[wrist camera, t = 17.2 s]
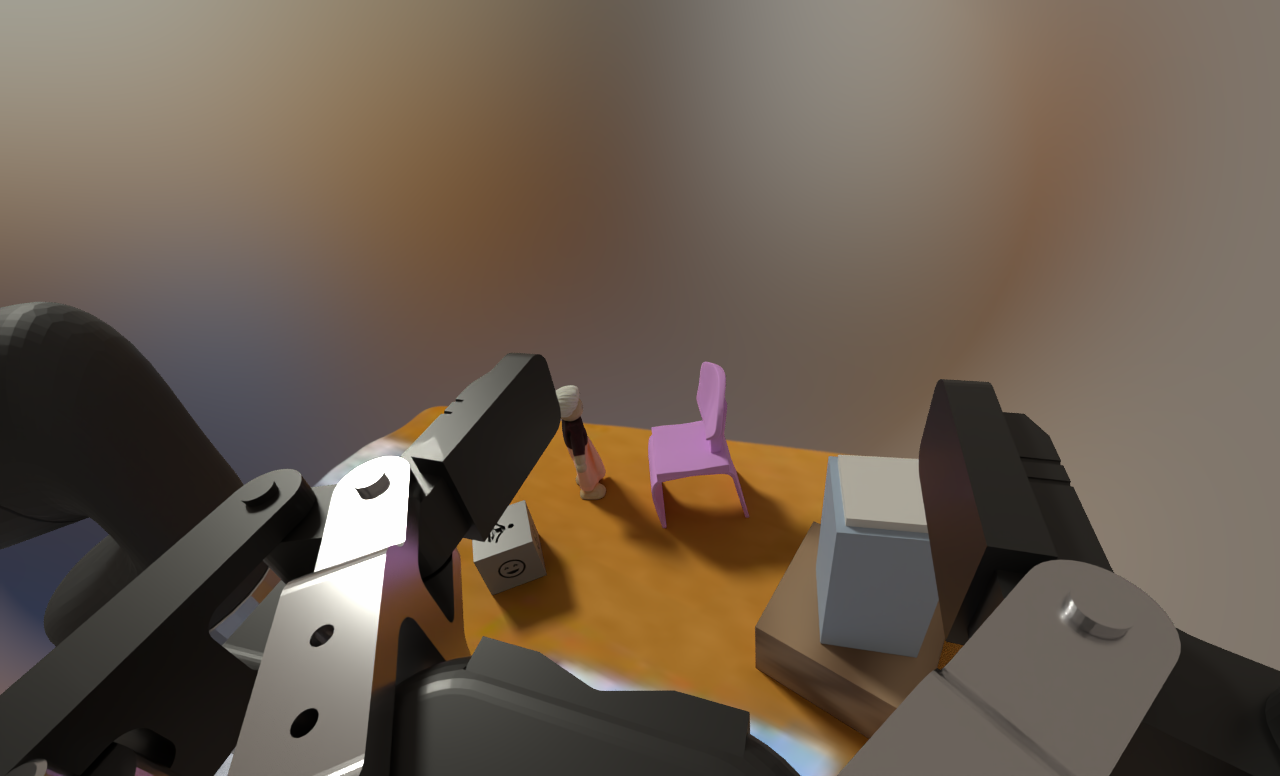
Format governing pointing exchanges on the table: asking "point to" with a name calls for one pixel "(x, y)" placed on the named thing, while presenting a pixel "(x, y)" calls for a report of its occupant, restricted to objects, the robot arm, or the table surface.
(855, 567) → the slate-blue canister
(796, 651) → the walnut block
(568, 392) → the grandmother figurine
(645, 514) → the table surface
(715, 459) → the toy chair
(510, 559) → the dice cube
